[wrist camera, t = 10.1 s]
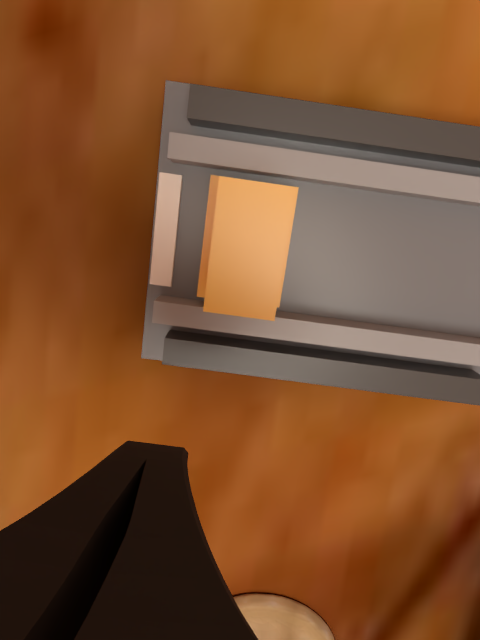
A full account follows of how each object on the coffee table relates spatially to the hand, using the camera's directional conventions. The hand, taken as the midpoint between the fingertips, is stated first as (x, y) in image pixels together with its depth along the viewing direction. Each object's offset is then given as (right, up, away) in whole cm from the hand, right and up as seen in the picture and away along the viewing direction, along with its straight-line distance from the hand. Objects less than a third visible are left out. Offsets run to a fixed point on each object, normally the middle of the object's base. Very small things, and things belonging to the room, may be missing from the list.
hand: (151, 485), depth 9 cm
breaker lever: (+2, +6, +6) cm, 9 cm away
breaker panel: (+6, +6, +8) cm, 12 cm away
